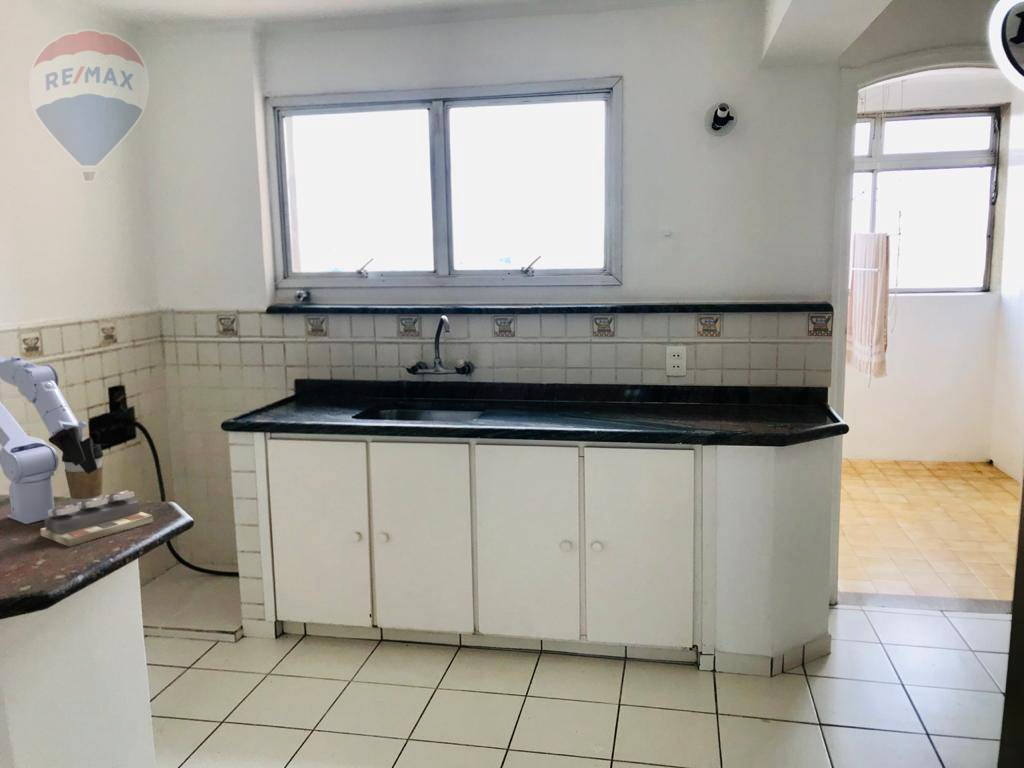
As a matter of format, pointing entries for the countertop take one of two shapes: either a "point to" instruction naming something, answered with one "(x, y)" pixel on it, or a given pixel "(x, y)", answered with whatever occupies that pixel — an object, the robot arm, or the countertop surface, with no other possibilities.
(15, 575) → the countertop surface
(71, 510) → the rocker end near
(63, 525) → the switch unit
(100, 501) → the rocker middle
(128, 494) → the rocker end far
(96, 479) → the coffee cup
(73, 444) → the robot arm
